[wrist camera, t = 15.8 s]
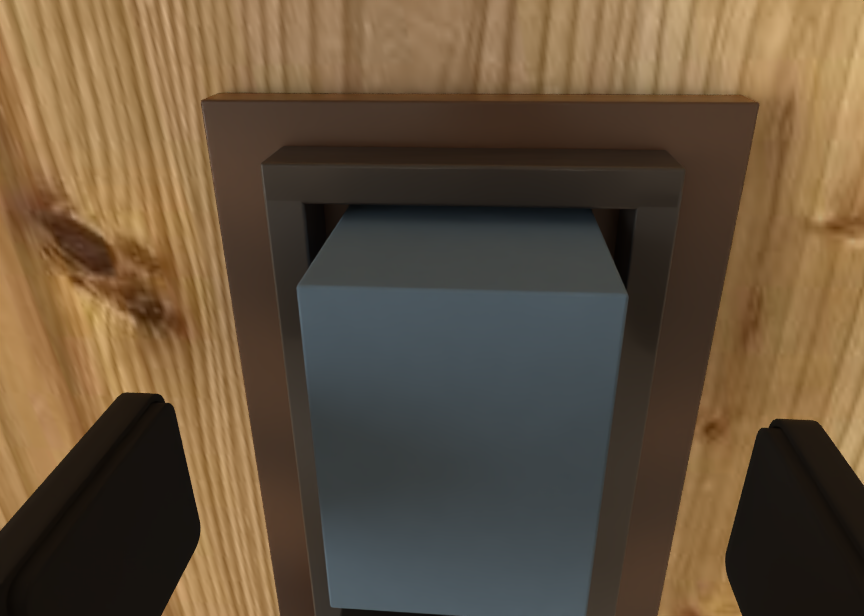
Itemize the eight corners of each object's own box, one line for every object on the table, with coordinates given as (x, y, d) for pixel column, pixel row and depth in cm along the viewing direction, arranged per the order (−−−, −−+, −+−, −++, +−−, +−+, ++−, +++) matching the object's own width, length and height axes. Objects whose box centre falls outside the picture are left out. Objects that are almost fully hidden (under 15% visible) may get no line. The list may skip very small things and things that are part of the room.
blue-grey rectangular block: (563, 471, 17) (586, 625, 13) (368, 462, 17) (329, 608, 13) (590, 203, 14) (629, 294, 10) (351, 199, 14) (295, 285, 10)
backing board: (217, 92, 14) (166, 112, 12) (743, 94, 14) (792, 116, 11) (300, 672, 23) (279, 748, 20) (629, 697, 22) (645, 778, 20)
